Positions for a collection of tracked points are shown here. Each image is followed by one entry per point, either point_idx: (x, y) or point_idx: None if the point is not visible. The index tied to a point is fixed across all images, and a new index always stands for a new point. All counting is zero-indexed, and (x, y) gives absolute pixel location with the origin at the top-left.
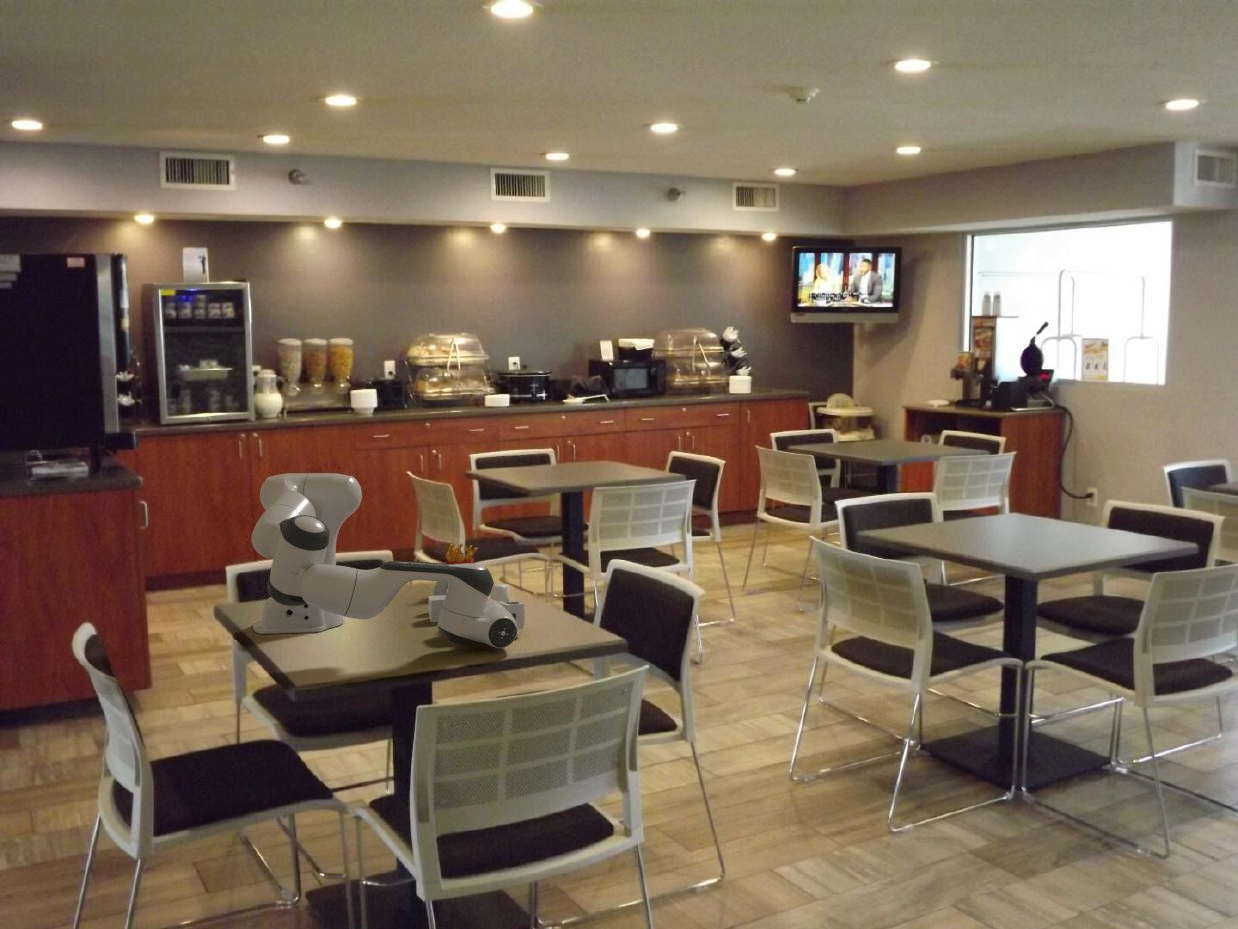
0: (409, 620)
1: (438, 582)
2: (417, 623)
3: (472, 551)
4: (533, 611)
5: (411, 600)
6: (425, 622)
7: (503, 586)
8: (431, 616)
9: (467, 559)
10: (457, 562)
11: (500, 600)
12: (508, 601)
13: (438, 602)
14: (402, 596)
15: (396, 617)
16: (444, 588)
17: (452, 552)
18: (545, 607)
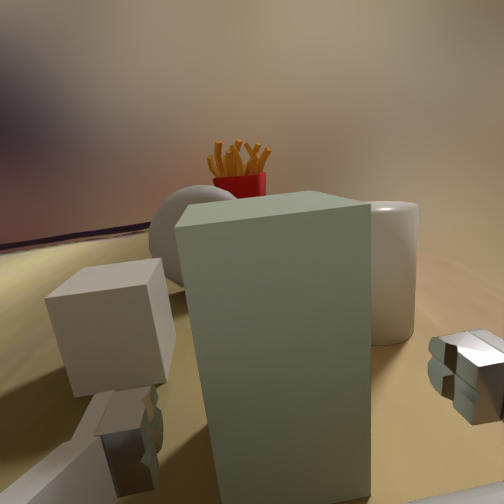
0: (27, 360)
1: (155, 214)
2: (15, 398)
3: (262, 157)
4: (478, 295)
5: (148, 257)
6: (58, 387)
7: (396, 208)
8: (66, 370)
9: (252, 171)
10: (232, 177)
11: (387, 274)
12: (415, 273)
13: (86, 305)
14: (145, 248)
15: (22, 333)
16: (174, 231)
17: (225, 163)
18: (488, 272)
